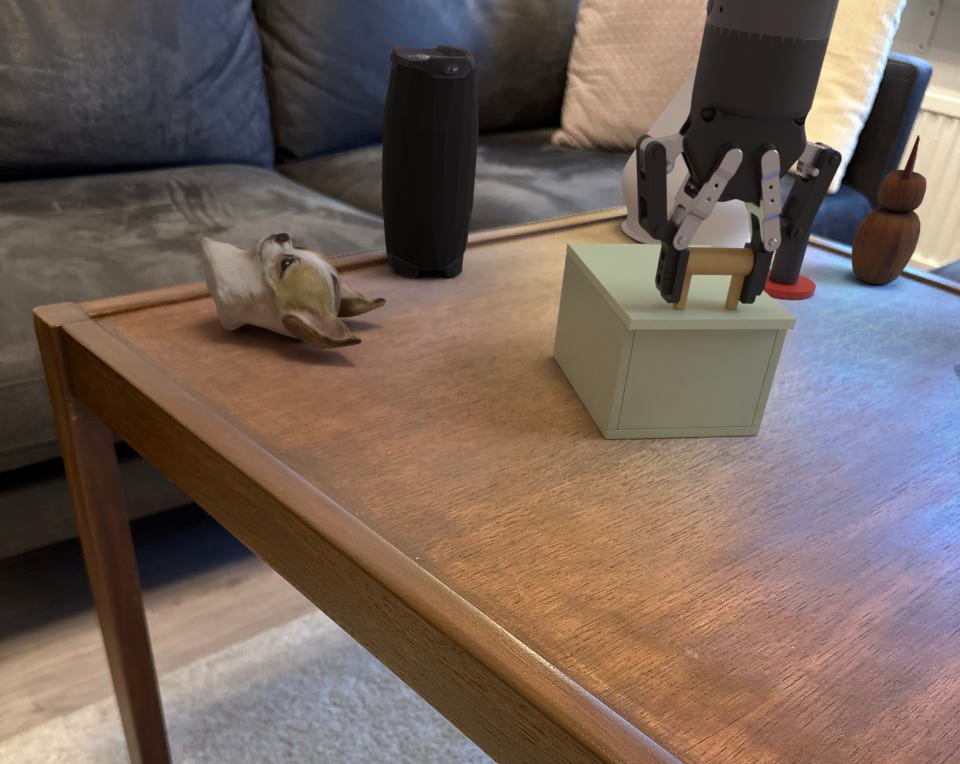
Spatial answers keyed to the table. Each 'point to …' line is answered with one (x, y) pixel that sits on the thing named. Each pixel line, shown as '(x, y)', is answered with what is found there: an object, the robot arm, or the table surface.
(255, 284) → the ceramic sculpture
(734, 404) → the chest
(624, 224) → the vase
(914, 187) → the wooden figurine
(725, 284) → the chest lid
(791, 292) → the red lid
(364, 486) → the table surface
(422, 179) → the portable speaker
